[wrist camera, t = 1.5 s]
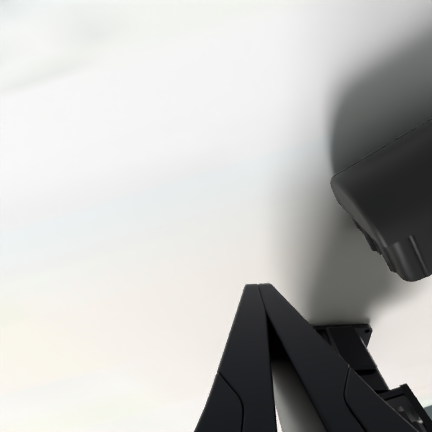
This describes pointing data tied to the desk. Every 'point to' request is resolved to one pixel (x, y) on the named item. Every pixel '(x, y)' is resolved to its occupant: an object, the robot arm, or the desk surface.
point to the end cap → (394, 201)
